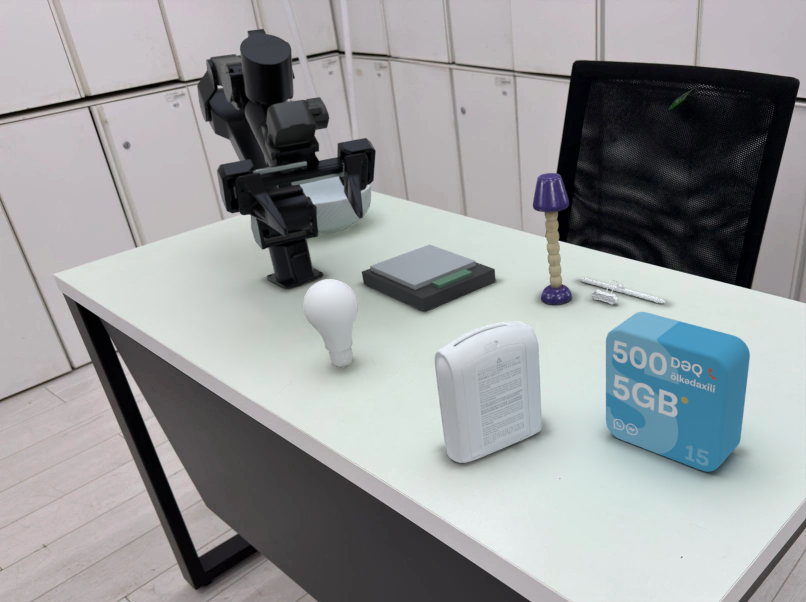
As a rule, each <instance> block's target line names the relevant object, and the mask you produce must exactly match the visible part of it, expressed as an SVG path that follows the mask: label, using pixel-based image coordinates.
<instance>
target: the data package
mask: <svg viewBox="0 0 806 602" xmlns="http://www.w3.org/2000/svg"><path fill="white" fill-rule="evenodd" d="M750 359H751V353H750V348H749V346H748V345H747V343H746V342H745V341H744V340H743V339H742V338H740V337H739V336H736V335H734V334H730V333H728V332H727V333H726V332H722V331H719V330H714V329H711V328H707V327H704V326H700V325H696V324H692V323H689V322H684V321H681V320H677V319H673V318H669V317H665V316H661V315H658V314H654V313H650V312H648V311H647V312H646V311H638V312H636V313H634V314H632V315H630V317H628V318H626V319H625V320H624V321H622V322H621V323H619V324H618V325H617V326H615V327H614V328H612V329H611V330H610V331H609V332H608V333H607V335H606V337H605V424H606V427H607V429H608V431H609V432H610V434H611V435H612V436H614V437H615V438H616V439H618V440H621V441H623V442H625V443H629V444H631V445H634V446H637V447H639V448H642V449H644V450H647V451H650V452H651V453H654V454H657V455H660V456H663V457H665V458H667V459H670V460H673V461H676V462H678V463H681V464H684V465H686V466H689V467H690V468H691V467H692V468H694V469H697V470H699V471H702V472H707V473H709V472H713V471H716V470H717V469H718V468H719V467H720V466H721V465H722V464H723V463H724V462H725V460H727V458H728V457H729V456H730V455H731V454H732V453H733V452H734V451H735V449H737V447H738V446H739V445H740V442H741V437H742V429H743V420H744V411H745V404H746V403H745V402H746V394H747V386H748V377H749V367H750Z"/></svg>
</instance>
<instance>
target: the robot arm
mask: <svg viewBox="0 0 806 602" xmlns="http://www.w3.org/2000/svg"><path fill="white" fill-rule="evenodd" d="M205 64H206V65H205V66H206V71H205V72H204V74H203V76H202V77H201V78H200V80H199V82H198V83H197V85H196V88H197V96H198V97H197V98H198V103H199V108H200V112H201V115H202V118H203V120H204V122H205V123H209V125H210V127H211V129H212V131H213V133H214V134H215V135H217V136H219V137H221V138H224V139H226V140H228V141H229V142H230V143H231V146H232V147H233V150H234V152H235V154H236V156H237V158H238V160H237V161H232V162H226V163H221V164H219V165H218V167H217V169H216V174H217V181H218V187H219V188H218V189H219V193H220V197H221V201H222V203H223V205H224V208H225V210H226V212H228V213H230V214H236V213H239V214H240V215H241V216H250V228H251V232H252V236H253V240H254V241H255V243H256V244H257V246H258V247H259V248H260V250H261V251H262V250H263V251H265V250H266V249H268V252H269V256H270V260H271V265H272V268H273V273H270V274H267V275H266V279H267V280H269V281H270V282H272V283H274V284H276V285H278V286H280V287H281V288H283V289H285V290H287V289H291V288H294V287H297V286H299V285H303V284H305V283H308V282H311V281H314V280H316V279H319V278H322V277H324V272H323V271H321V270H318V269H316V268H315V267H313V262H312V258H311V253H310V248H309V244H308V243H309V242H308V239H313V238H318V237H319V234H318V233H319V232H318V225H317V207H316V205H314V204H313V202H312V200H311V198H310V197H309V196H307V197H306V195H305V193H304V192H303V188H302V187H301V186H300V184H305V183H310V182H315V181H318V180H323V179H328V178H333V177H338V176H339V179H340V181H341V183H342V185H343V186H344V193H345V195H346V197H347V199H348V201H349V203H350V205H351V206H352V208H353V210H354V212H355V214H356V215H357V216H358V217H359V220H361V219H363V218H364V216H363V207H362V198H361V191H362V190H364V189H366V187H367V185H370V186H371V184H372V183H373V182H374V181H375V180H374V179H375V165H376V153H377V151H376V148H375V147H374V145H373V144H372V141H371V140H369V139H368V138H367V137H362V138H358V139H353V140H347V141H342V142H337V144H336V145H337V155H336V157H330V158H326V159H319V158H318V156H317V154H316V153H318V152H320V143H319V141H318V139H317V137H316V131H318V130H324V129H327V128H328V126H329V122H330V114H329V112H328V108H327V106H326V103H324V101H323V100H322V97H320V96H318V97H311V98H306V99H298V100H292V99H293V98H294V94H295V93H294V91H295V89H294V80H295V79H296V76H295V73H294V69H293V55H292V47H291V45H290V43H289V42H288V41H286V40H284V39H283V38H281V37H279V36H277V35H273V34H268V33H266V31H265V29H264V28H260V29H252V30H247V37H246V38H244V40H242V41H241V43H240V46H239V55H237V54H235V53H232V54H224V55H216V56H215V55H214V56H211V57H209V58H207V59H206V60H205ZM220 86H221V87H220ZM289 100H291V101H289Z"/></svg>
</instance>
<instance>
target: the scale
mask: <svg viewBox="0 0 806 602" xmlns="http://www.w3.org/2000/svg"><path fill="white" fill-rule="evenodd" d="M361 277H362V282H363V285H366V286H367V287H369V288H371V289H373V290H376V291H378V292H380V293H383V294H384V295H386V296H389V297H391V298H393V299H396V300H398V301H400V302H402V303H405V304H406V305H409V306H411V307H413V308H415V309H417V310H420V311H421V312H427V311H430V310H432V309H434V308H436V307H440V306H442V305H444V304H446V303H449V302H451V301H453V300H456V299H458V298H460V297H462V296H466V295H467V294H470V293H471V292H475V291H478V290H479V289H482V288H484V287H486V286H489V285H491V284H493V283H496V282H497V279H496V269H495V268H493V267H490V266H488V265H484V264H483V263H479V262H477V261H476V260H474V259H471V258H469V257H466V256H463V255H460V254H459V253H455V252H453V251H450V250H447V249H444V248H440V247H438V246H435V245H432V244H426V245H424V246H421V247H418V248H415V249H413V250H410V251H407V252H405V253H402V254H399V255H397V256H394V257H391V258H388V259H386V260H382V261H380V262H377V263H375V264H372V265H369V268H368V269H365V270H362V271H361Z"/></svg>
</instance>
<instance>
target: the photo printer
mask: <svg viewBox="0 0 806 602" xmlns="http://www.w3.org/2000/svg"><path fill="white" fill-rule="evenodd" d="M434 369H435V378H436V385H437V386H436V387H437V394H438V402H439V410H440V417H441V426H442V433H443V440H444V446H445V448H446V454H447V456H448V458H450V460H452V461H454V462H456V463H460V464H462V463H464V464H466V463H469V462H470V463H471V462H473V461H475V460H479V459H481V458H483V457H485V456H488V455H491V454H493V453H495V452H498V451H500V450H502V449H504V448H507V447H509V446H511V445H514V444H516V443H518V442H521V441H524V440H526V439H528V438H531V437H532V436H534V435H536V434H538V433H540V432H541V430H542V429H543V415H542V413H543V412H542V393H541V392H542V391H541V373H540V372H541V371H540V348H539V341H538V338H537V335H536V332H535V331H534V328H533V327H532V326H531V325H529V324H526V323H525V321H519V320H518V321H517V320H515V321H514V320H509V321H501V322H494V323H490V324H487V325H484V326H483V325H482V326H480V327H477V328H473V329H472V330H469V331H467V332H465V333H463V334H461V335H458V336H457V337H455V338H454V339H452V340H450V341H449V342H447V343H446V344H445V345H443V346H442V347H441V348H440V349H438V350H437V351H436V353H435V354H434Z"/></svg>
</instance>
